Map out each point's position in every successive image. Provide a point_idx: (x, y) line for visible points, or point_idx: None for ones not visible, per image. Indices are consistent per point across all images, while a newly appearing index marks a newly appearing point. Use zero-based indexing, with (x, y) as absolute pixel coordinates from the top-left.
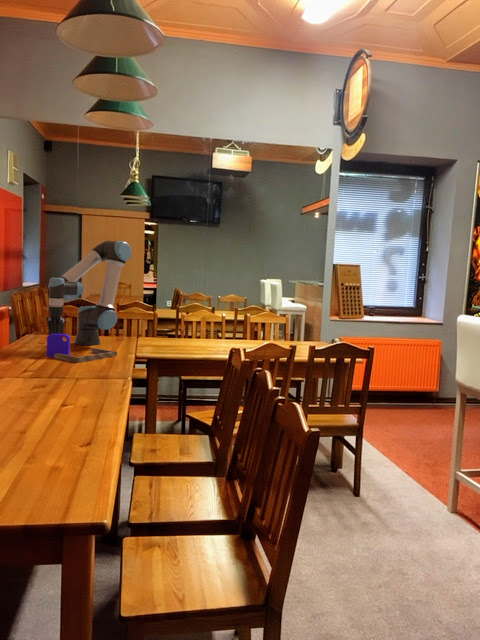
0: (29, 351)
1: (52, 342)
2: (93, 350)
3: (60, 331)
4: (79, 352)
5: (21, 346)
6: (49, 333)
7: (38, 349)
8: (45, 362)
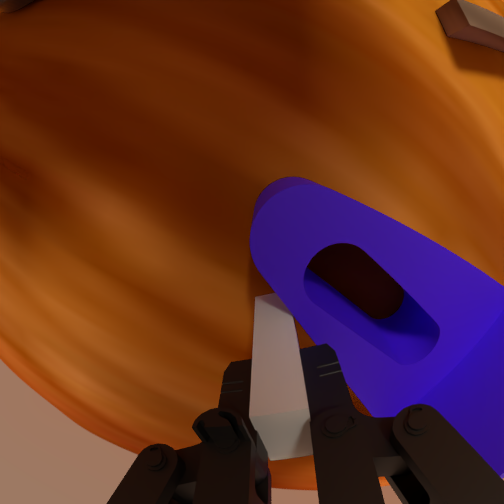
0: (158, 407)
1: None
2: (475, 34)
3: (470, 493)
4: (400, 89)
5: (3, 338)
6: (186, 502)
7: (86, 331)
8: None
